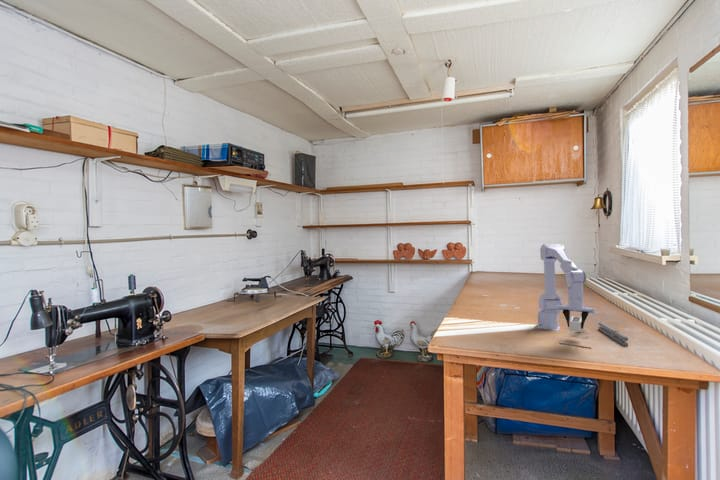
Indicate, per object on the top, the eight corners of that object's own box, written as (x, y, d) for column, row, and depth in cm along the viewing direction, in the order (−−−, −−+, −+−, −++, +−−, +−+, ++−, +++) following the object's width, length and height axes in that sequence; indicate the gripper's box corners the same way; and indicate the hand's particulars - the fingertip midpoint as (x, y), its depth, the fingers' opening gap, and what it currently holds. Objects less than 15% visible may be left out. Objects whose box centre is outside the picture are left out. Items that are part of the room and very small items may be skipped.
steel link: (569, 330, 161) (569, 321, 160) (571, 324, 170) (571, 315, 170) (580, 332, 158) (580, 322, 158) (583, 325, 168) (583, 317, 168)
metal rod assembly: (597, 330, 182) (597, 321, 182) (603, 331, 182) (603, 321, 182) (622, 347, 157) (622, 336, 157) (629, 348, 157) (629, 336, 157)
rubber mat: (559, 344, 163) (559, 343, 163) (562, 337, 173) (562, 336, 173) (590, 348, 156) (590, 347, 156) (592, 341, 166) (592, 340, 166)
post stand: (567, 337, 172) (567, 325, 172) (571, 329, 185) (571, 318, 185) (587, 340, 168) (587, 328, 168) (589, 331, 181) (589, 320, 181)
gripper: (555, 297, 162) (556, 327, 163) (594, 300, 154) (594, 332, 154) (558, 294, 168) (558, 323, 168) (595, 297, 159) (595, 328, 160)
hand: (575, 327), depth 162 cm, fingers closed on steel link, 4 cm apart
